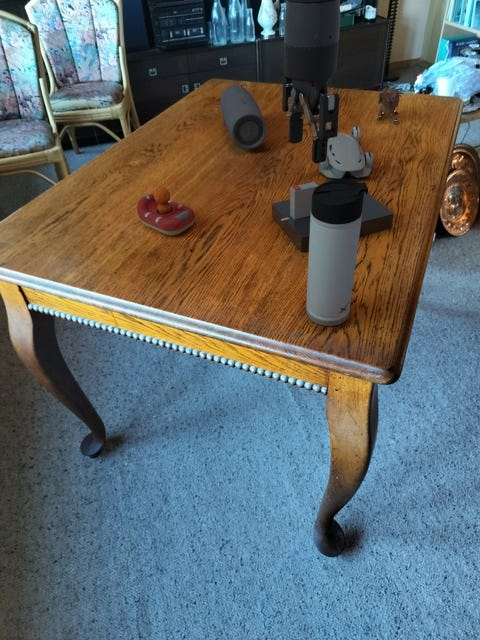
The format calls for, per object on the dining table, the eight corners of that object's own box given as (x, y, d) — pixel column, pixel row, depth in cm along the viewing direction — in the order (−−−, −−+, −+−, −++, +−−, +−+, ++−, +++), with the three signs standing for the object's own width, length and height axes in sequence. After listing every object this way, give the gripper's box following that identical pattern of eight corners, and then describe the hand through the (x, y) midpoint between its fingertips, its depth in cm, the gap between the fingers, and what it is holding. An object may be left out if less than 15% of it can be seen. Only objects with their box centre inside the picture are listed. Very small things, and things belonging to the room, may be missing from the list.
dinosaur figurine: (398, 128, 118) (404, 89, 112) (374, 127, 120) (379, 88, 113) (401, 109, 127) (407, 72, 121) (378, 108, 129) (383, 72, 123)
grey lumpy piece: (358, 138, 115) (360, 117, 112) (376, 183, 97) (379, 160, 94) (312, 140, 116) (313, 119, 112) (322, 186, 98) (323, 163, 94)
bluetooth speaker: (270, 152, 112) (269, 108, 105) (231, 157, 111) (228, 113, 105) (253, 119, 129) (251, 80, 122) (220, 123, 128) (216, 84, 121)
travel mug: (354, 326, 66) (373, 198, 53) (307, 327, 67) (314, 200, 53) (348, 298, 71) (363, 173, 57) (304, 299, 71) (309, 176, 58)
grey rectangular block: (312, 209, 85) (314, 180, 81) (317, 214, 84) (318, 184, 80) (289, 215, 84) (290, 185, 80) (294, 220, 83) (294, 190, 79)
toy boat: (160, 207, 95) (153, 172, 90) (202, 224, 89) (197, 187, 84) (132, 224, 91) (123, 188, 86) (174, 242, 85) (167, 205, 80)
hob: (354, 197, 94) (356, 182, 91) (391, 228, 84) (394, 212, 82) (267, 218, 90) (267, 203, 87) (296, 253, 80) (296, 237, 78)
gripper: (362, 44, 60) (349, 164, 71) (312, 24, 70) (308, 132, 81) (309, 53, 59) (305, 174, 70) (266, 31, 69) (268, 140, 80)
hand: (306, 151), depth 76 cm, fingers open, 8 cm apart
